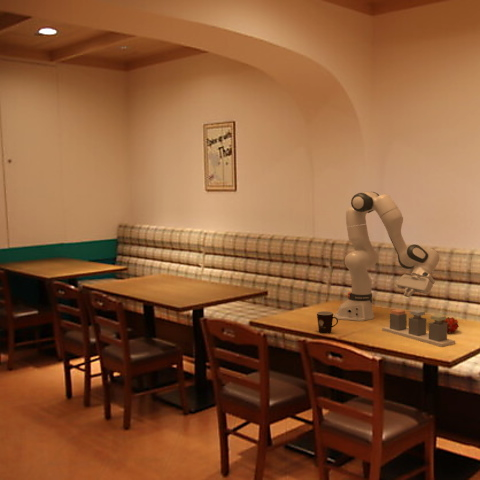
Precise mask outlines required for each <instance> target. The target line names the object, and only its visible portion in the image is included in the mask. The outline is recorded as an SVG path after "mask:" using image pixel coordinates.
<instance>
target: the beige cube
mask: <svg viewBox="0 0 480 480" xmlns="http://www.w3.org/2000/svg"><path fill="white" fill-rule="evenodd" d="M409 314H410V315H411V316H413V317H414V319H421V317H422V316H425V315H426V311H425V310H420V309H414V310H413V309H412V310H410V311H409Z"/></svg>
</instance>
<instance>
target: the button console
mask: <svg viewBox="0 0 480 480" xmlns="http://www.w3.org/2000/svg"><path fill="white" fill-rule="evenodd" d="M407 316H408V315H407V313H405V314H402V315H395V314H391V313H389V326H385V327H384V326H383V327H382V328H381V332H382V331H383V332H385V333H388V334H389V333H390V334H393V335H397V336H400V337H404V338H407V339H411V340H415V341H418V342H422V343H425V344H429V345H433V346H436V347H440V348H443V347H448V346H451V345H455V344H456V340H455V339H450V338H448V333H447V323H443V322H442V324H439V325H438V324H434V322H435V321H433V322H428V332H427V318H425V317H422V316H421V319H414V316H412V317H411V316H410V317H407ZM407 318H408V320H407ZM407 321H408V322H407ZM407 323H408V324H407ZM407 325H408V327H407Z"/></svg>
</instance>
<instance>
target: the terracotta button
mask: <svg viewBox="0 0 480 480" xmlns="http://www.w3.org/2000/svg"><path fill="white" fill-rule="evenodd" d="M390 312H391V314H395V315H402V314H406V310H403V309H399V308H397V309H391V311H390Z"/></svg>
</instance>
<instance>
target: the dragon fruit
mask: <svg viewBox="0 0 480 480" xmlns="http://www.w3.org/2000/svg"><path fill="white" fill-rule="evenodd" d="M442 322H443V323H447V334H448V333H452V334H453V333H456V332H457V330H458V329H459V327H460V325H459V321H458V320H457V319H455V318H454V317H448V316H447V317H446V320H442Z"/></svg>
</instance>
